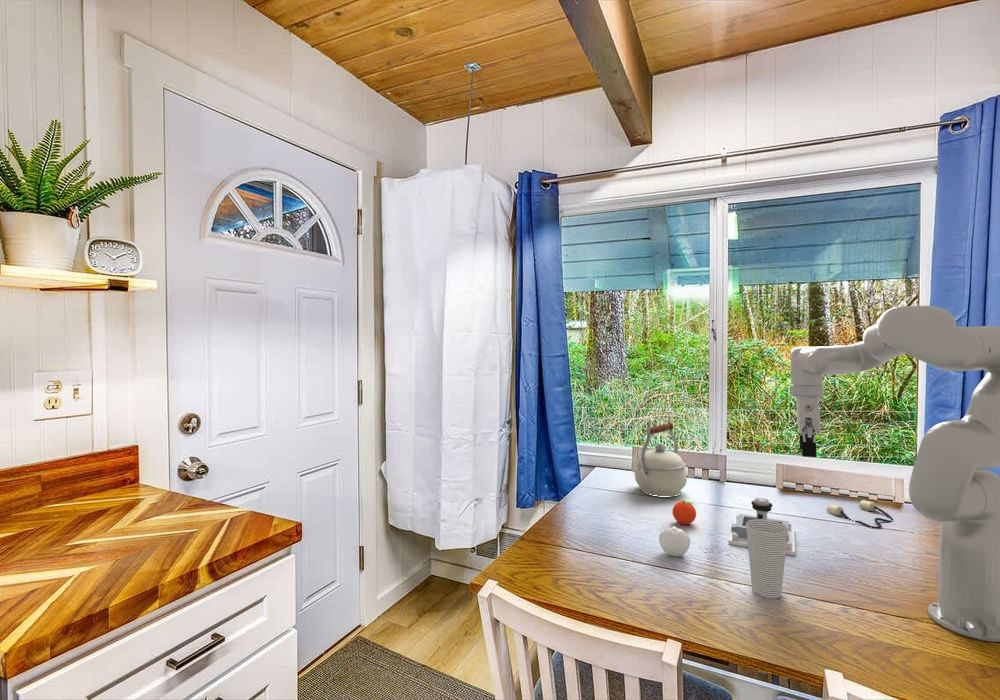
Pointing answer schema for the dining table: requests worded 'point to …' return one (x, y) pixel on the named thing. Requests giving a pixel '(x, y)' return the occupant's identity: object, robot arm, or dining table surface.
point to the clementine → (684, 512)
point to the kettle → (660, 467)
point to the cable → (863, 505)
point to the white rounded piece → (674, 541)
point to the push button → (761, 507)
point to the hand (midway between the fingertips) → (807, 453)
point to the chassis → (740, 532)
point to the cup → (766, 556)
